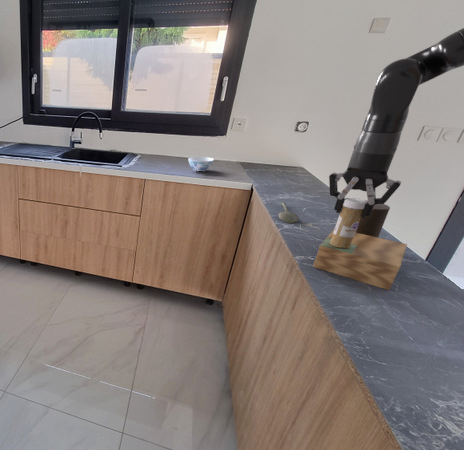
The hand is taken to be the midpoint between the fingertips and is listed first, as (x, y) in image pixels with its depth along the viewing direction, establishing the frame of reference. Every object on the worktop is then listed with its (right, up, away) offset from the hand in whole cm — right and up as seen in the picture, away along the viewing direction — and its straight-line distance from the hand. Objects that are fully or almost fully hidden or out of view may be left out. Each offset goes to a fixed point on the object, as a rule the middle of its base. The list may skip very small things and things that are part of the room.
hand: (350, 214), depth 83 cm
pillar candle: (+20, -9, +20) cm, 30 cm away
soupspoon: (+15, +2, +46) cm, 48 cm away
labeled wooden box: (+7, -15, +7) cm, 18 cm away
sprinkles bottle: (0, -9, +4) cm, 10 cm away
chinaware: (+10, +32, +117) cm, 122 cm away
